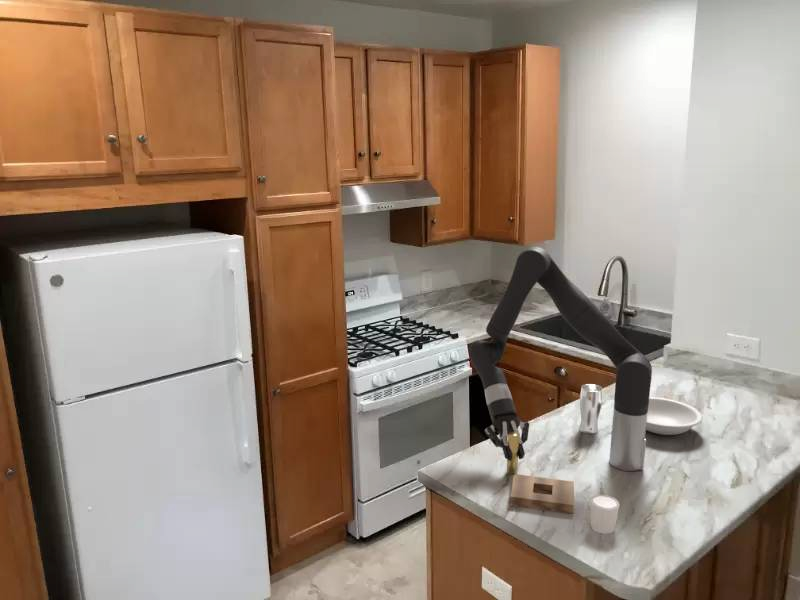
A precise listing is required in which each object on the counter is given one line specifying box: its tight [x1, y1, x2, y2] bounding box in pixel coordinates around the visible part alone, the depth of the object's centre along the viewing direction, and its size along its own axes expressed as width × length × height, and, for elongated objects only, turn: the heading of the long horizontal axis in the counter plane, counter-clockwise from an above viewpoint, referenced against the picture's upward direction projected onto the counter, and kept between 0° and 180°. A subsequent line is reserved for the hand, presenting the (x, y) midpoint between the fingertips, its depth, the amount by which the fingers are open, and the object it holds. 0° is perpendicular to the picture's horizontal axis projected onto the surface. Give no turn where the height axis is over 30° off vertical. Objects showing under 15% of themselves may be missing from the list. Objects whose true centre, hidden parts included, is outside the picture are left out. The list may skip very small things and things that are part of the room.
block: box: [509, 473, 575, 515], centre depth 169 cm, size 16×12×2 cm
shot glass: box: [589, 494, 620, 535], centre depth 155 cm, size 7×7×7 cm
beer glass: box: [578, 383, 603, 435], centre depth 208 cm, size 7×7×15 cm
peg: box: [506, 432, 519, 477], centre depth 180 cm, size 3×3×12 cm
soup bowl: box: [646, 396, 703, 436], centre depth 209 cm, size 24×24×7 cm
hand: (515, 458), depth 179 cm, fingers closed on peg, 3 cm apart
